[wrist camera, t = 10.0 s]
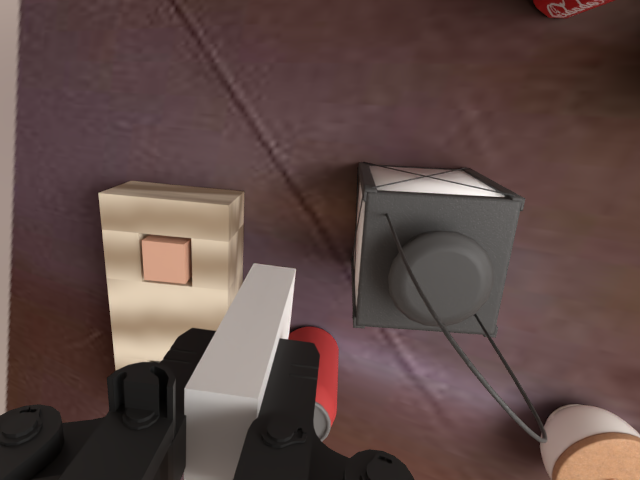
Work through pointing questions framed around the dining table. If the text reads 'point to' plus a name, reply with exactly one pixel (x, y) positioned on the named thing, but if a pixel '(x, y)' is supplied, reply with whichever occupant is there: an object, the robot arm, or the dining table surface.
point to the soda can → (566, 7)
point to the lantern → (434, 255)
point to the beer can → (322, 377)
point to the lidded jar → (590, 445)
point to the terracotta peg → (167, 258)
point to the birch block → (165, 297)
